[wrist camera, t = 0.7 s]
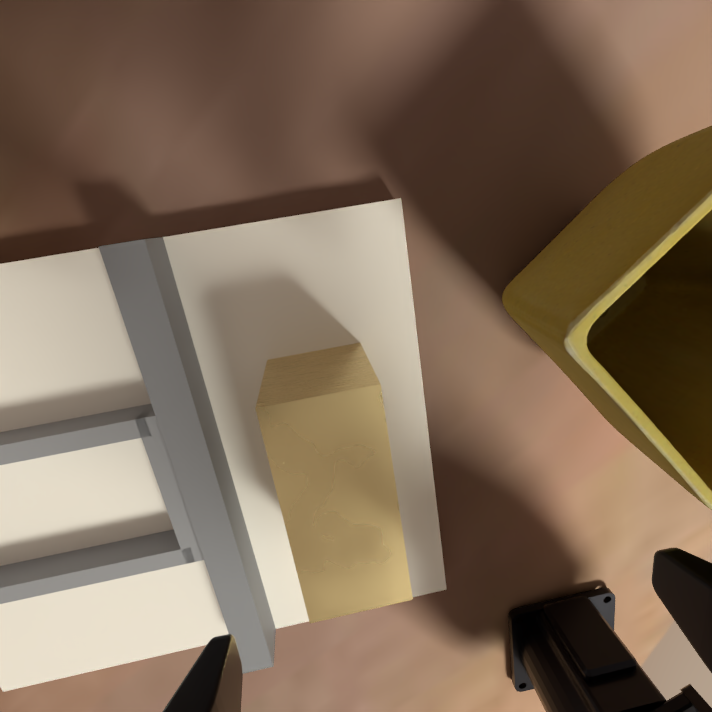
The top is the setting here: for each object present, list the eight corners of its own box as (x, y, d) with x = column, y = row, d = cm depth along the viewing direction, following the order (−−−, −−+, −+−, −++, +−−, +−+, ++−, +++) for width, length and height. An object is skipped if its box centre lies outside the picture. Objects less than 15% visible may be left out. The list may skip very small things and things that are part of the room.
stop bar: (387, 515, 21) (412, 599, 16) (307, 532, 21) (309, 623, 16) (360, 342, 18) (380, 384, 14) (267, 359, 18) (255, 408, 13)
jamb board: (439, 572, 24) (459, 622, 21) (17, 668, 23) (-27, 737, 20) (394, 199, 18) (413, 194, 15) (-193, 296, 16) (-306, 312, 13)
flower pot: (446, 289, 19) (560, 340, 11) (592, 138, 18) (849, 63, 10) (558, 405, 22) (722, 522, 13) (693, 280, 21) (967, 319, 12)
